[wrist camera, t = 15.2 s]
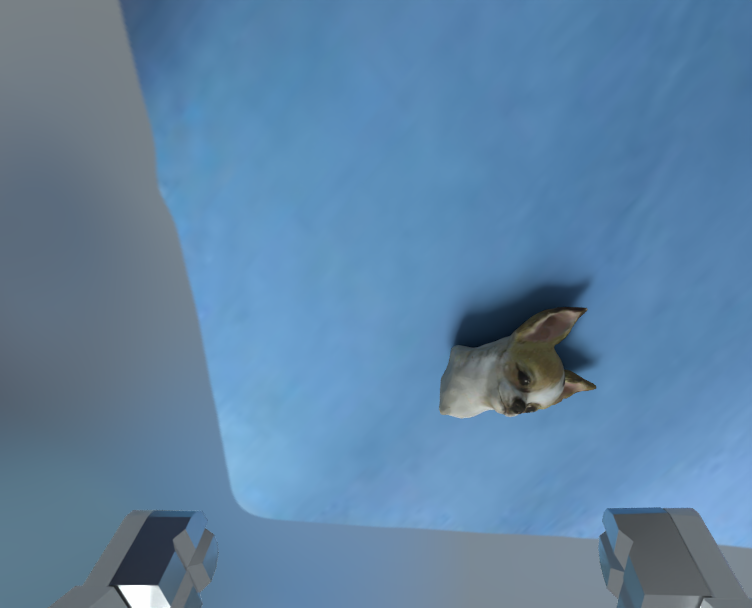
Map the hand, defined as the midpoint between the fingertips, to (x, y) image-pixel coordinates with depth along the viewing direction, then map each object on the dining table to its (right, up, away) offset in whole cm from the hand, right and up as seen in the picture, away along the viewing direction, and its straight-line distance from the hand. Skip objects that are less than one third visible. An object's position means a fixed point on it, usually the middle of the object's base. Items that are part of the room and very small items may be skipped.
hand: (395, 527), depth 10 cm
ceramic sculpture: (+13, 0, +39) cm, 41 cm away
